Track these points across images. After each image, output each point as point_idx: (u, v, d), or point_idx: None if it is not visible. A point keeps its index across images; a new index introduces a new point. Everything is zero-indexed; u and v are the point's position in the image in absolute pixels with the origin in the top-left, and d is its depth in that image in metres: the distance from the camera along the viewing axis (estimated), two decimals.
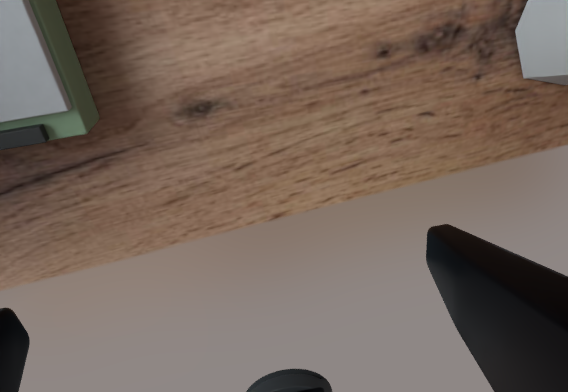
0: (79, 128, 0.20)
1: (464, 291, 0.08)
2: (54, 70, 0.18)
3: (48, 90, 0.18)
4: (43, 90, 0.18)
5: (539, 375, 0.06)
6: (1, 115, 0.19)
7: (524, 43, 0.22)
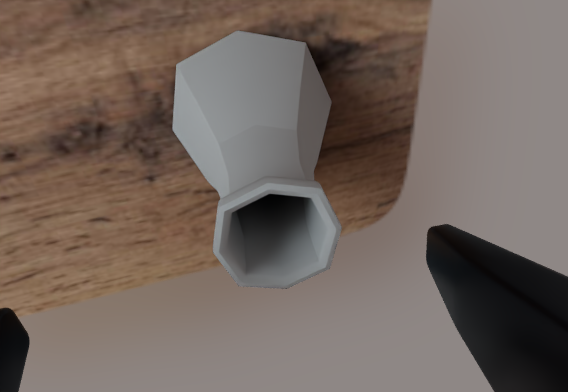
0: None
1: (464, 291, 0.08)
2: None
3: None
4: None
5: (540, 375, 0.06)
6: None
7: None
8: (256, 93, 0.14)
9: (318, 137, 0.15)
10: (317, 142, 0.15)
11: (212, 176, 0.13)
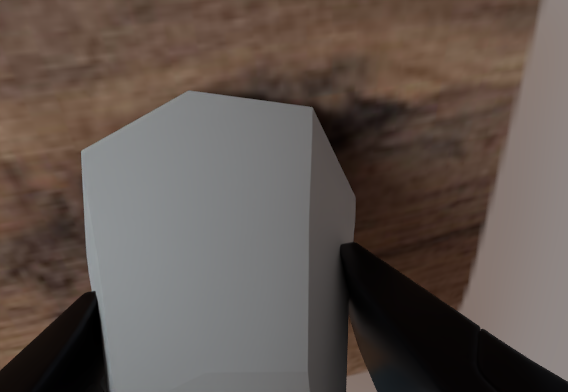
0: None
1: (358, 312, 0.08)
2: None
3: None
4: None
5: None
6: None
7: None
8: (215, 255, 0.06)
9: (346, 315, 0.07)
10: (346, 333, 0.07)
11: None
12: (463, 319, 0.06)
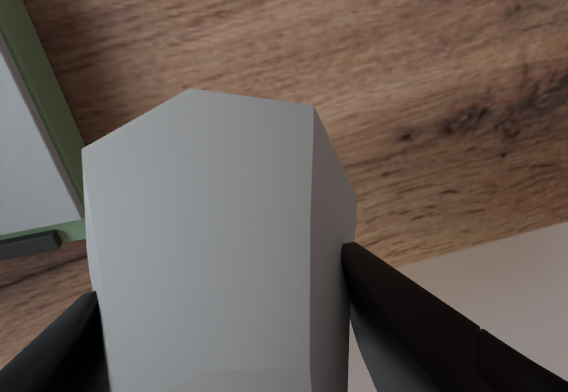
0: None
1: (358, 312, 0.08)
2: (67, 181, 0.17)
3: (61, 201, 0.18)
4: (56, 202, 0.18)
5: None
6: (13, 226, 0.18)
7: None
8: (216, 251, 0.06)
9: (347, 313, 0.07)
10: (347, 331, 0.07)
11: None
12: (464, 319, 0.06)
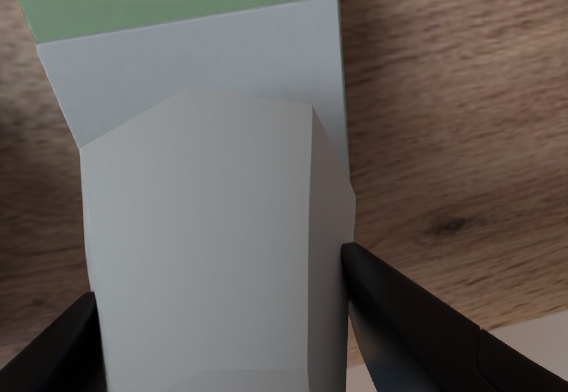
0: None
1: (358, 312, 0.08)
2: None
3: None
4: None
5: None
6: None
7: None
8: (213, 251, 0.06)
9: (346, 312, 0.07)
10: (345, 331, 0.07)
11: None
12: (464, 319, 0.06)
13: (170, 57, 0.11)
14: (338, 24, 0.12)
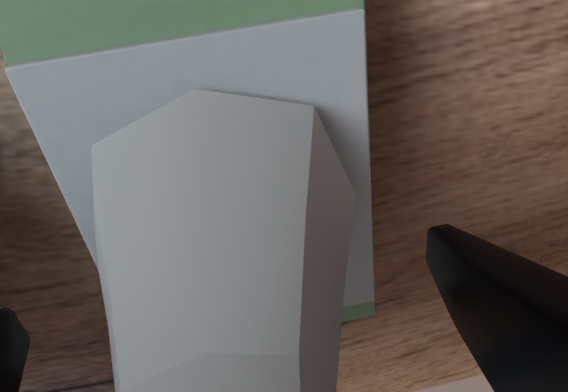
0: (368, 311, 0.15)
1: (464, 291, 0.08)
2: (371, 255, 0.13)
3: (359, 280, 0.13)
4: (353, 281, 0.13)
5: (540, 375, 0.06)
6: None
7: None
8: (215, 244, 0.07)
9: (340, 305, 0.08)
10: (339, 323, 0.07)
11: None
12: None
13: (166, 82, 0.10)
14: (364, 42, 0.10)
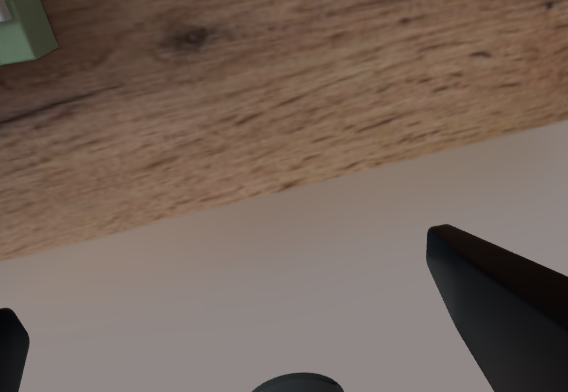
0: (24, 51, 0.15)
1: (464, 291, 0.08)
2: None
3: None
4: None
5: (539, 375, 0.06)
6: None
7: None
8: None
9: None
10: None
11: None
12: None
13: None
14: None
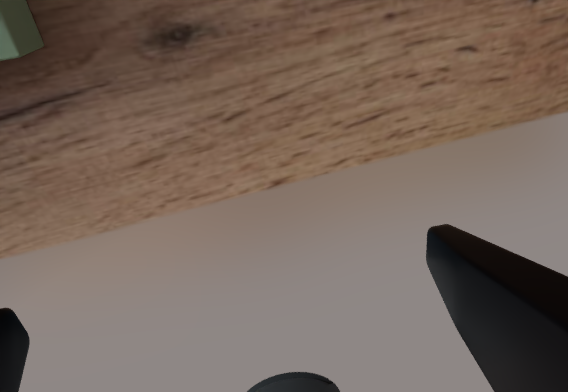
0: (8, 48, 0.15)
1: (464, 291, 0.08)
2: None
3: None
4: None
5: (539, 375, 0.06)
6: None
7: None
8: None
9: None
10: None
11: None
12: None
13: None
14: None
